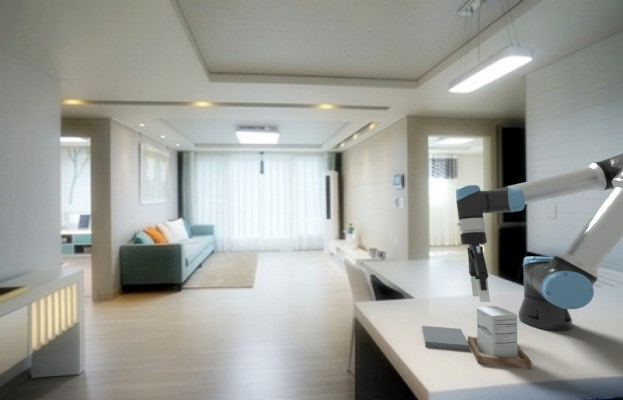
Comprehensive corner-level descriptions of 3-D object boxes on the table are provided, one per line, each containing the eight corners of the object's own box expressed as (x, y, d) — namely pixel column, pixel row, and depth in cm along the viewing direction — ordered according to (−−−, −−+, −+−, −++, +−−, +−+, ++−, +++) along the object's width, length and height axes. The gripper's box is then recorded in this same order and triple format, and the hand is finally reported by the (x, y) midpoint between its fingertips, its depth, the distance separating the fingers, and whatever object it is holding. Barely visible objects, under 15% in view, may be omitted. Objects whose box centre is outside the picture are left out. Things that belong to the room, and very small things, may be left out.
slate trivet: (460, 333, 104) (460, 328, 104) (468, 350, 92) (468, 345, 92) (422, 330, 107) (422, 325, 107) (425, 346, 95) (425, 341, 95)
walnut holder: (513, 346, 94) (513, 340, 94) (531, 368, 82) (531, 361, 82) (467, 342, 97) (467, 336, 97) (478, 363, 85) (477, 355, 85)
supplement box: (476, 349, 93) (475, 306, 93) (500, 348, 93) (499, 305, 93) (493, 362, 85) (492, 315, 85) (518, 360, 86) (518, 314, 86)
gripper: (456, 234, 117) (463, 294, 114) (465, 230, 94) (473, 304, 90) (478, 233, 115) (486, 294, 111) (493, 228, 92) (503, 304, 88)
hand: (480, 298), depth 101 cm, fingers open, 13 cm apart
